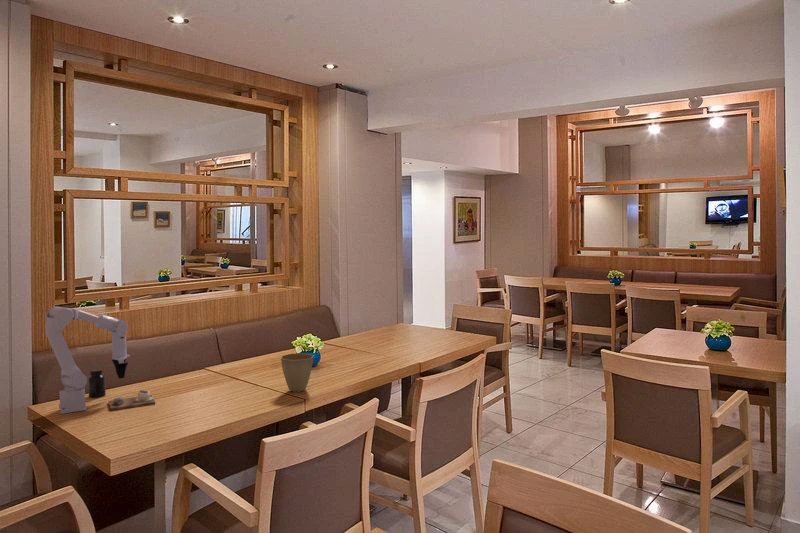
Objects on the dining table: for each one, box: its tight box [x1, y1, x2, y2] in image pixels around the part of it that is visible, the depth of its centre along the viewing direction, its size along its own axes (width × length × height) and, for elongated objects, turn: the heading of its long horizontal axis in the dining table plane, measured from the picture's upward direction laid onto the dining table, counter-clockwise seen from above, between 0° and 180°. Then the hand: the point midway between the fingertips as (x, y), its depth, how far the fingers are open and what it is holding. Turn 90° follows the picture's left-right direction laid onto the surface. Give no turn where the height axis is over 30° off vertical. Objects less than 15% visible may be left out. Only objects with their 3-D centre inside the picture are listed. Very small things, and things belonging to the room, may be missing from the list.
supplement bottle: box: [87, 368, 107, 399], centre depth 253 cm, size 7×7×12 cm
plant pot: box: [280, 353, 314, 392], centre depth 259 cm, size 15×15×16 cm
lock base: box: [108, 394, 156, 412], centre depth 241 cm, size 17×13×3 cm
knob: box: [137, 389, 151, 401], centre depth 244 cm, size 5×5×4 cm
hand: (120, 376), depth 249 cm, fingers open, 7 cm apart
